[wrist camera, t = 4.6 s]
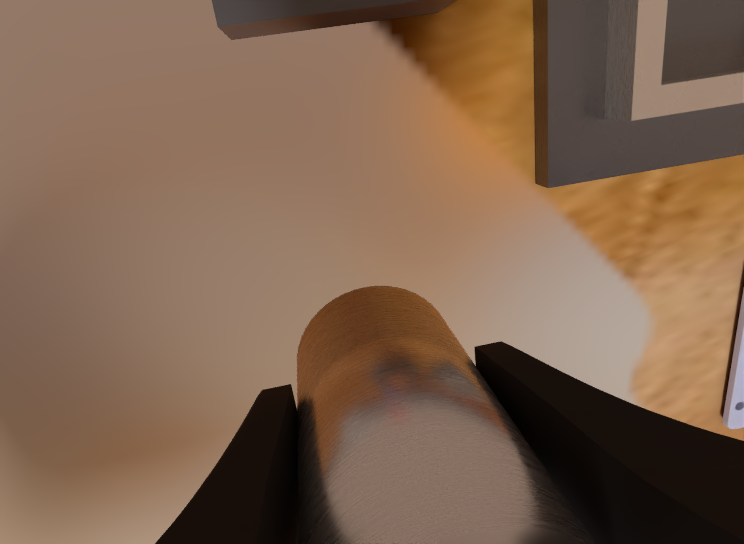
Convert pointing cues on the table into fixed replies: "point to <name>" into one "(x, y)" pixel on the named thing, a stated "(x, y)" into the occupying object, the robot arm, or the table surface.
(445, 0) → the button housing
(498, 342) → the robot arm
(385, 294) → the cylinder
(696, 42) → the base plate with socket
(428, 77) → the table surface
